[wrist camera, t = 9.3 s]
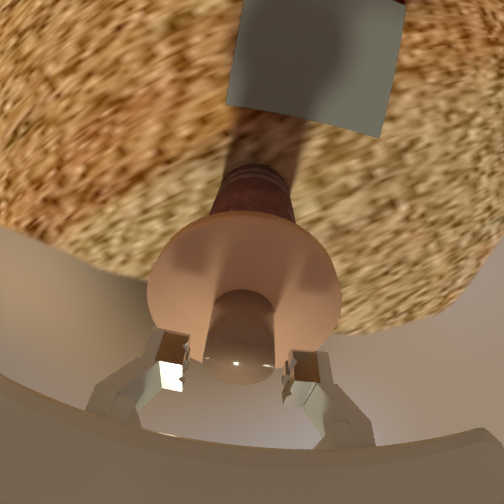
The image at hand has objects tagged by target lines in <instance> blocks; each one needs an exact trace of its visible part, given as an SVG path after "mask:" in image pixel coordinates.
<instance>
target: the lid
mask: <svg viewBox="0 0 504 504" xmlns="http://www.w3.org/2000/svg"><path fill="white" fill-rule="evenodd" d="M147 300H148V306H149V310H150V313H151V316H152V318H153V320H154V322H155V324H156V326H157V327H158V328H161V329H167V330H171V331H176V332H180V333H185V334H190V335H191V341H190V346H189V347H190V357H191V358H193V359H195V360H197V361H199V362H201V363H203V366H204V368H205V370H206V371H207V372H208V373H209V374H210V375H211V376H212V377H214V378H216V379H217V380H220V381H222V382H225V383H229V384H235V385H250V384H255V383H258V382H261V381H263V380H265V379H267V378H268V377H269V376H270V375H271V374H272V373H273V371H274V369H277V368H281V367H283V366H284V363H285V361H287V360H288V353H289V351H290V350H291V349H298V350H310V351H315V350H317V349H318V348H319V347H320V346H321V345H322V344H323V343H324V342H325V341H326V340H327V339H328V337H329V336H330V335H331V333H332V332H333V330H334V328H335V327H336V325H337V322H338V319H339V317H340V313H341V307H342V294H341V288H340V284H339V281H338V278H337V275H336V271H335V269H334V266H333V263H332V261H331V259H330V257H329V255H328V253H327V252H326V250H325V249H324V248H323V246H322V245H321V244H320V243H319V241H318V240H317V239H315V238H314V237H313V236H312V235H311V234H310V233H309V232H307V231H306V230H304V229H303V228H302V227H300V226H299V225H297V224H295V223H293V222H291V221H289V220H287V219H284V218H281V217H278V216H275V215H272V214H268V213H263V212H257V211H246V210H242V211H227V212H221V213H215V214H212V215H209V216H206V217H203V218H200V219H198V220H196V221H194V222H192V223H190V224H188V225H187V226H185V227H184V228H182V229H181V230H180V231H179V232H177V233H176V234H175V235H174V236H173V237H172V238H171V239H170V240H169V242H168V243H167V244H166V245H165V247H164V248H163V250H162V252H161V254H160V255H159V257H158V259H157V261H156V263H155V265H154V267H153V269H152V271H151V274H150V277H149V281H148V287H147Z"/></svg>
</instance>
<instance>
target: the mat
mask: <svg viewBox="0 0 504 504" xmlns="http://www.w3.org/2000/svg"><path fill="white" fill-rule="evenodd" d="M405 11H406V6H405V5H403V4H400V3H398V2H396V1H393V0H245V1H244V6H243V10H242V15H241V20H240V25H239V30H238V36H237V41H236V46H235V52H234V57H233V63H232V68H231V74H230V80H229V86H228V92H227V98H226V104H225V105H230V106H237V107H244V108H250V109H257V110H262V111H268V112H274V113H279V114H284V115H289V116H294V117H299V118H303V119H308V120H312V121H317V122H321V123H325V124H329V125H333V126H337V127H341V128H345V129H348V130H352V131H355V132H359V133H362V134H366V135H369V136H373V137H376V138H379V137H380V133H381V130H382V126H383V122H384V118H385V114H386V109H387V105H388V101H389V97H390V92H391V88H392V83H393V78H394V74H395V69H396V64H397V59H398V53H399V48H400V42H401V36H402V30H403V24H404V18H405Z"/></svg>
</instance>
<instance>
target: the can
mask: <svg viewBox="0 0 504 504" xmlns="http://www.w3.org/2000/svg"><path fill="white" fill-rule="evenodd" d="M242 210H246V211H257V212H263V213H268V214H272V215H275V216H278V217H281V218H284V219H287V220H289V221H291V222H293V223H295V224H296V222H295V217H294V213H293V208H292V203H291V199H290V194H289V190H288V187H287V185H286V183H285V181H284V179H283V178H282V177H281V176H280V175H279V174H278V173H277V172H276V171H275V170H273V169H271V168H269V167H267V166H264V165H258V164H249V165H243V166H241V167H239V168H236V169H234V170H232V171H231V172H230V173H229V174H228V175H227V176H226V177H225V179H224V181H223V183H222V184H221V186H220V189H219V191H218V194H217V196H216V199H215V201H214V204H213V206H212V209H211V211H210V214H209V215H212V214H215V213H221V212H227V211H242Z"/></svg>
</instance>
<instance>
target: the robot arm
mask: <svg viewBox="0 0 504 504" xmlns="http://www.w3.org/2000/svg"><path fill="white" fill-rule="evenodd" d="M190 341H191V335H190V334H185V333H180V332H176V331H171V330H167V329H161V328H157V327H154V328H153V329H152V330H151V333H150V336H149V338H148V341H147V344H146V346H145V349H144V351H143V354H142V357H137V358H135V359H134V360H132V361H131V362H129V363H128V364H126V365H125V366H123V367H122V368H120V369H119V370H118V371H116V372H114V373H113V374H111V375H110V376H108V377H107V378H105V379H104V380H103V381H101V382H99V383H98V384H96V385H95V387H94V390H93V392H92V394H91V397H90V399H89V402H88V404H87V407H86V409H85V411H84V410H81V409H78V408H76V407H73V406H70V405H67V404H65V403H62V402H60V401H57V400H55V399H53V398H50V397H48V396H45V395H43V394H41V393H39V392H36V391H34V390H32V389H30V388H28V387H26V386H23V385H21V384H19V383H17V382H15V381H13V380H11V379H9V378H7V377H6V376H3V375H2V374H0V504H504V448H503V446H502V444H501V442H500V441H499V440H498V439H497V438H495V437H494V436H493V435H492V434H491V433H490V432H489V431H488V430H486V429H485V428H476V429H472V430H468V431H464V432H460V433H456V434H452V435H447V436H442V437H438V438H432V439H427V440H421V441H415V442H408V443H402V444H394V445H385V446H376V445H375V439H374V434H373V429H372V424H371V421H370V420H369V419H368V418H367V416H366V415H365V414H364V413H363V412H362V411H361V410H360V409H359V408H358V407H357V406H356V405H355V403H354V402H353V401H352V400H351V399H350V398H349V397H348V396H347V395H346V394H345V392H343V390H342V389H341V388H340V387H339V386H338V385H337V384H333V378H332V372H331V366H330V361H329V355H328V353H327V352H319V351H310V350H298V349H291V350H290V351H289V353H288V360H287V361H285V363H284V366H283V371H282V384H283V385H284V386H285V387H284V389H283V391H282V399H283V405H287V406H298V407H303V409H304V411H305V412H306V414H307V415H308V417H309V418H310V420H311V421H312V423H313V424H314V426H315V427H316V429H317V430H318V432H319V433H320V435H321V436H322V438H323V439H322V440H321V441H320V442H319V443H318V444H317V445H316V446H315V447H314V448H313V449H312V450H311V449H277V448H262V447H250V446H239V445H231V444H222V443H215V442H208V441H202V440H196V439H190V438H185V437H179V436H175V435H170V434H165V433H160V432H156V431H152V430H148V429H144V428H142V426H141V423H140V419H139V416H138V413H137V411H138V410H139V409H140V408H141V407H143V406H144V405H145V404H146V403H147V402H148V401H149V400H150V399H151V398H152V397H154V396H155V395H156V394H157V393H158V392H159V391H160V390H161V388H164V389H170V390H176V391H183V386H184V382H185V371H186V370H187V369H188V364H189V358H190V347H189V346H190Z"/></svg>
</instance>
